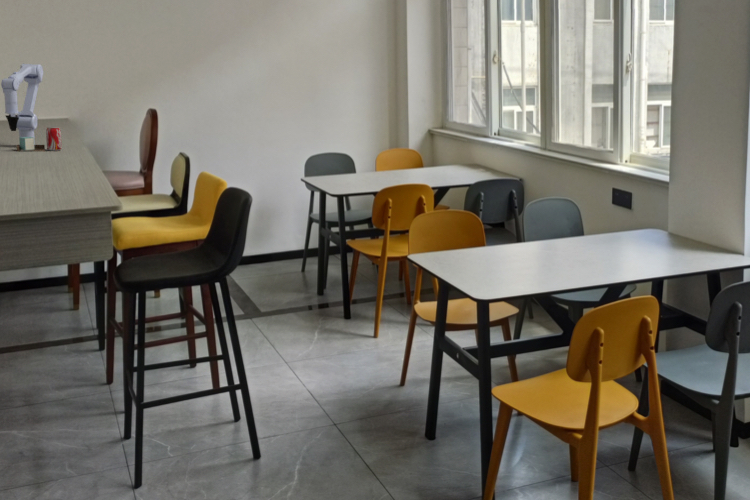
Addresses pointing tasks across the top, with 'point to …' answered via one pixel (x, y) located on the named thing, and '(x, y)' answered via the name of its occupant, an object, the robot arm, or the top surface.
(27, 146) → the block
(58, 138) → the soda can
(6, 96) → the robot arm
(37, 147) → the tray
